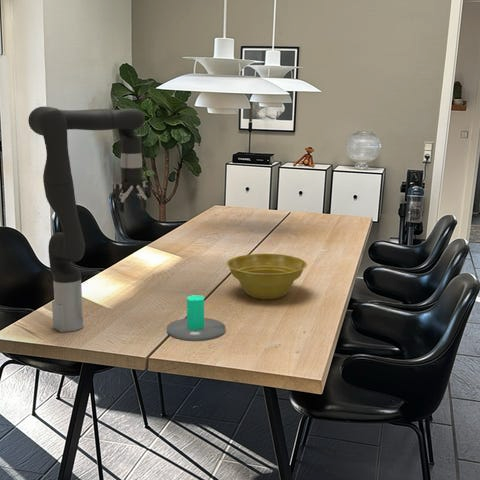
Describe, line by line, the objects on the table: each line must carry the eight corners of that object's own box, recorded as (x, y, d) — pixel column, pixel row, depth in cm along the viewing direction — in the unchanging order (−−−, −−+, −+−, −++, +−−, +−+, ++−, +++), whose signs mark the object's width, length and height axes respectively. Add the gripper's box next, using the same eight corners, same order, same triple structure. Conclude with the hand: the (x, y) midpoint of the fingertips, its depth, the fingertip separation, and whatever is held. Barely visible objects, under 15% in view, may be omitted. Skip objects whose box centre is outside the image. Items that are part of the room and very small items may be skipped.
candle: (194, 322, 234) (194, 289, 232) (207, 326, 231) (207, 293, 228) (183, 327, 230) (182, 293, 227) (196, 331, 226) (196, 297, 224)
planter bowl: (245, 311, 252) (246, 276, 249) (214, 288, 281) (214, 257, 278) (320, 301, 265) (321, 268, 262) (283, 280, 293) (283, 250, 290)
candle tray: (189, 345, 217) (189, 341, 217) (155, 328, 232) (155, 325, 232) (237, 332, 229) (237, 328, 229) (202, 317, 244) (202, 313, 244)
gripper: (118, 168, 229) (120, 214, 233) (154, 165, 238) (155, 210, 242) (108, 166, 235) (109, 211, 238) (143, 163, 244) (144, 208, 247)
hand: (132, 211), depth 240 cm, fingers open, 8 cm apart
